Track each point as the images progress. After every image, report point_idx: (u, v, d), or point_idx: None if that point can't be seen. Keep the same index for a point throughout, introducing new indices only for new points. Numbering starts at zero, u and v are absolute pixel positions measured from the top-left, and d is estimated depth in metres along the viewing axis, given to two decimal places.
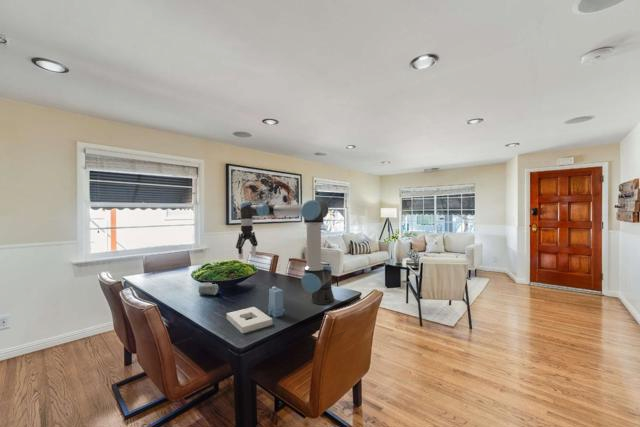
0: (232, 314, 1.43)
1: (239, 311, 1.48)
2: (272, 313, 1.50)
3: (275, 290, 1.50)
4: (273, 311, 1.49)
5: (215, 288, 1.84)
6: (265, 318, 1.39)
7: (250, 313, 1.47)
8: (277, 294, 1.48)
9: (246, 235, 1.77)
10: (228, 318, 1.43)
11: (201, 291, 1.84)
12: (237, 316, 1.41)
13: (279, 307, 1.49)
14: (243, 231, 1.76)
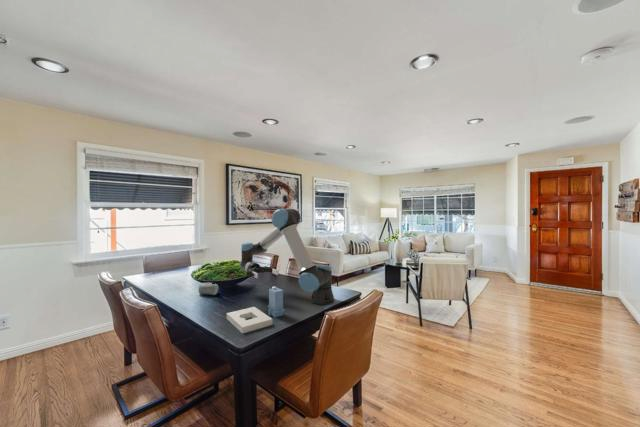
0: (232, 314, 1.43)
1: (239, 311, 1.48)
2: (272, 313, 1.50)
3: (275, 290, 1.50)
4: (273, 311, 1.49)
5: (215, 288, 1.84)
6: (265, 318, 1.39)
7: (250, 313, 1.47)
8: (277, 294, 1.48)
9: (254, 268, 1.72)
10: (228, 318, 1.43)
11: (201, 291, 1.84)
12: (237, 316, 1.41)
13: (279, 307, 1.49)
14: None
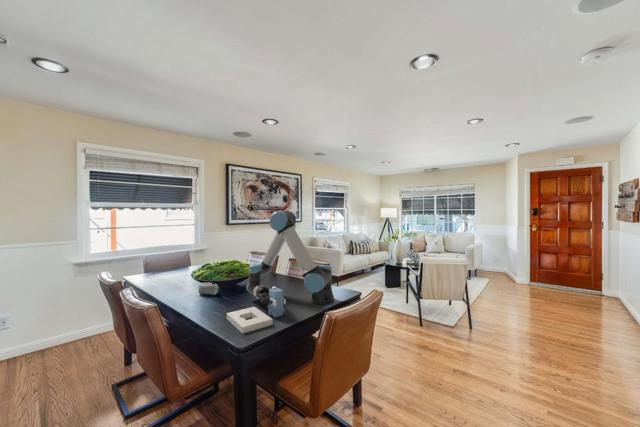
0: (232, 314, 1.43)
1: (239, 311, 1.48)
2: (272, 313, 1.50)
3: (275, 290, 1.50)
4: (273, 311, 1.49)
5: (215, 288, 1.84)
6: (265, 318, 1.39)
7: (250, 313, 1.47)
8: (277, 294, 1.48)
9: (263, 293, 1.59)
10: (228, 318, 1.43)
11: (201, 291, 1.84)
12: (237, 316, 1.41)
13: (279, 307, 1.49)
14: None
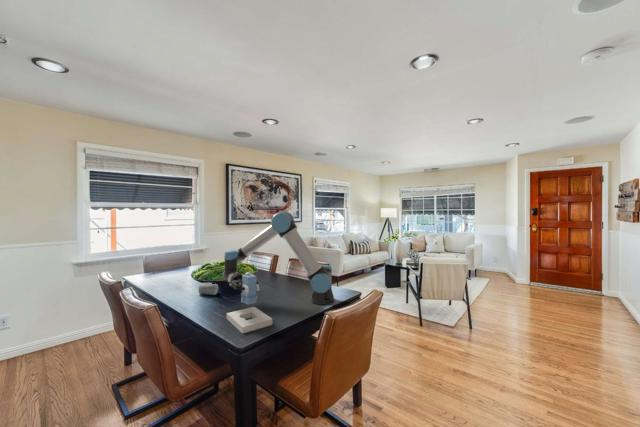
0: (232, 314, 1.43)
1: (239, 311, 1.48)
2: (245, 300, 1.40)
3: (248, 276, 1.41)
4: (246, 298, 1.39)
5: (215, 288, 1.84)
6: (265, 318, 1.39)
7: (250, 313, 1.47)
8: (249, 280, 1.39)
9: (237, 280, 1.50)
10: (228, 318, 1.43)
11: (201, 291, 1.84)
12: (237, 316, 1.41)
13: (252, 294, 1.40)
14: (231, 282, 1.50)
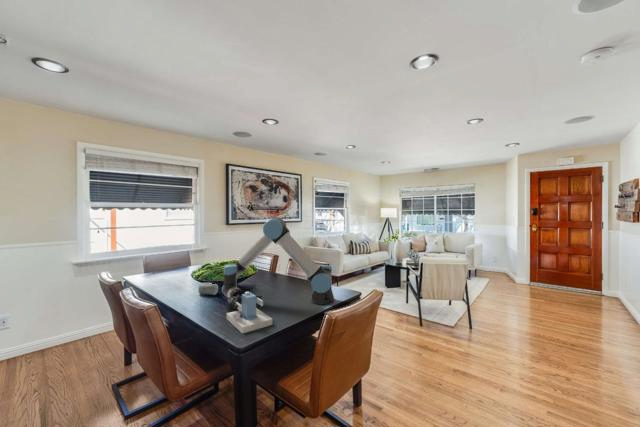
0: (232, 314, 1.43)
1: (239, 311, 1.48)
2: None
3: (248, 296, 1.40)
4: (245, 318, 1.39)
5: (215, 288, 1.84)
6: (265, 318, 1.39)
7: None
8: (249, 300, 1.38)
9: None
10: (228, 318, 1.43)
11: (201, 291, 1.84)
12: (237, 316, 1.41)
13: (252, 314, 1.39)
14: (231, 298, 1.50)
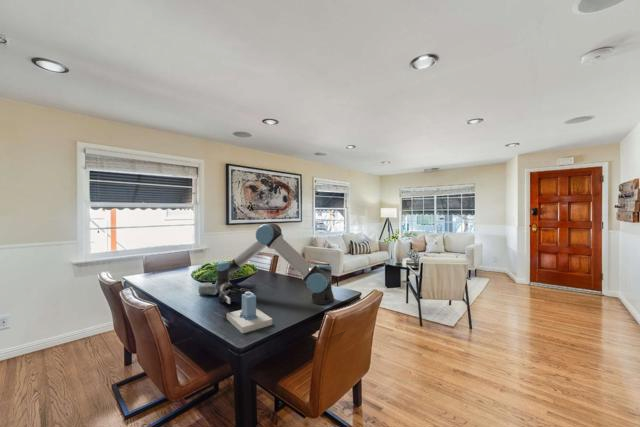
0: (232, 314, 1.43)
1: (239, 311, 1.48)
2: None
3: (248, 296, 1.40)
4: (245, 318, 1.39)
5: (215, 288, 1.84)
6: (265, 318, 1.39)
7: None
8: (249, 300, 1.38)
9: None
10: (228, 318, 1.43)
11: (201, 291, 1.84)
12: (237, 316, 1.41)
13: (252, 314, 1.39)
14: None
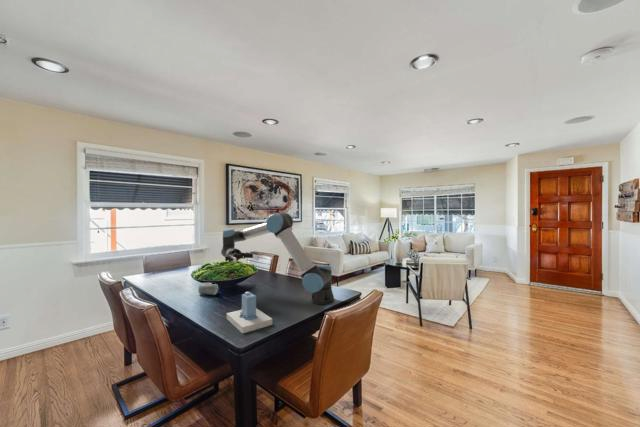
0: (232, 314, 1.43)
1: (239, 311, 1.48)
2: None
3: (248, 296, 1.40)
4: (245, 318, 1.39)
5: (215, 288, 1.84)
6: (265, 318, 1.39)
7: None
8: (249, 300, 1.38)
9: (234, 254, 1.68)
10: (228, 318, 1.43)
11: (201, 291, 1.84)
12: (237, 316, 1.41)
13: (252, 314, 1.39)
14: (230, 255, 1.69)
